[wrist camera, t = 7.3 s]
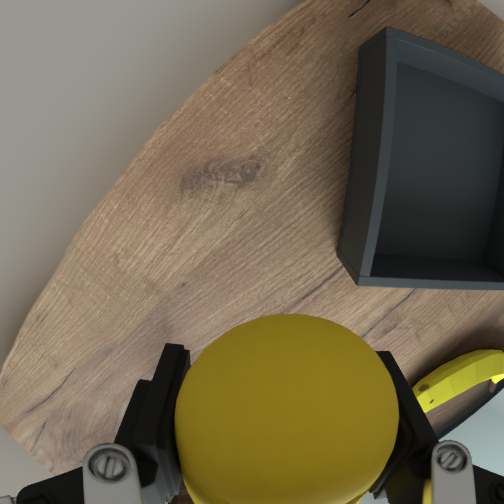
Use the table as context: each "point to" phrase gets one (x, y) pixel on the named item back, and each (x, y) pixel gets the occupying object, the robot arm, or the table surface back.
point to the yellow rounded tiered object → (285, 415)
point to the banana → (459, 377)
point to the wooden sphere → (182, 498)
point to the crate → (425, 169)
